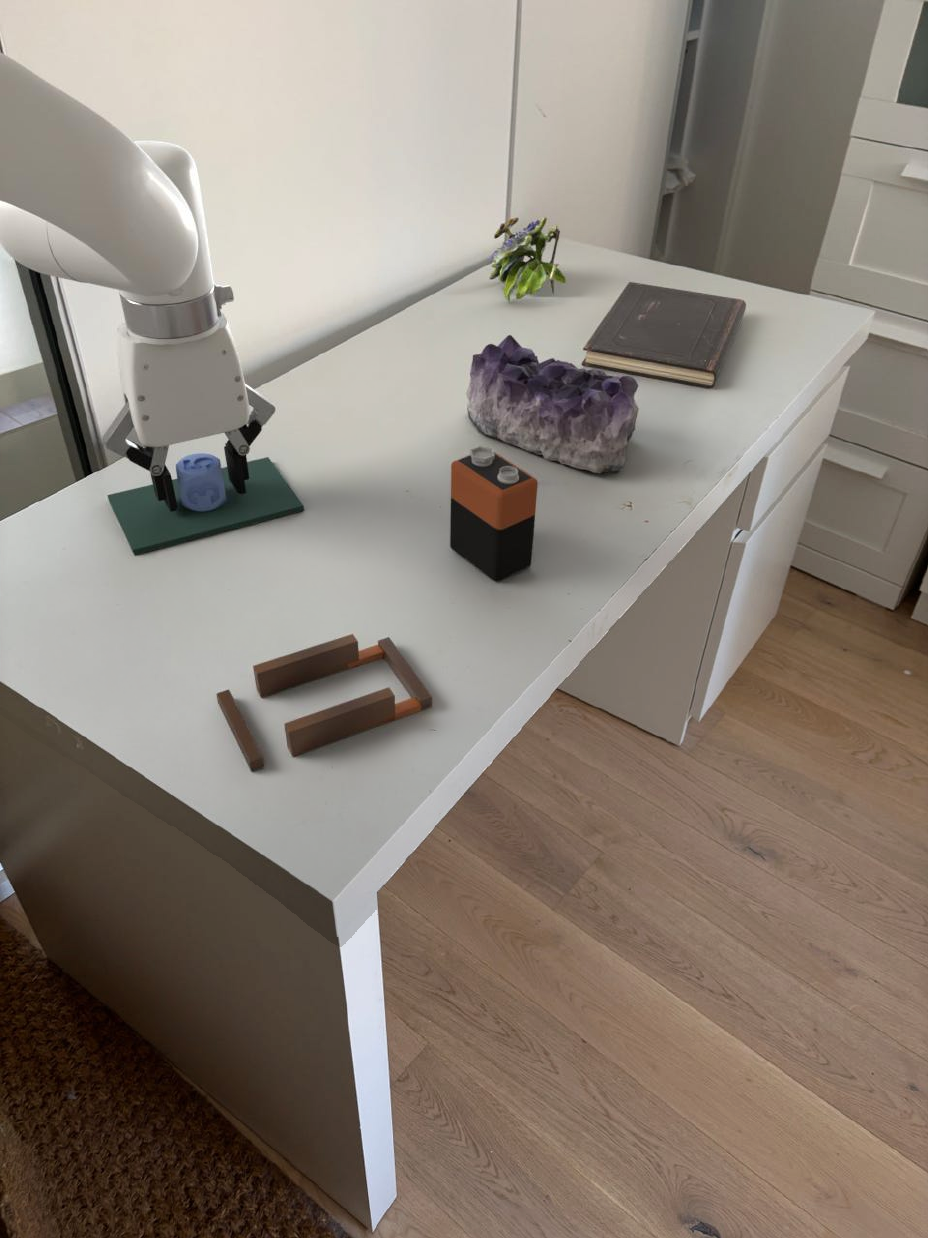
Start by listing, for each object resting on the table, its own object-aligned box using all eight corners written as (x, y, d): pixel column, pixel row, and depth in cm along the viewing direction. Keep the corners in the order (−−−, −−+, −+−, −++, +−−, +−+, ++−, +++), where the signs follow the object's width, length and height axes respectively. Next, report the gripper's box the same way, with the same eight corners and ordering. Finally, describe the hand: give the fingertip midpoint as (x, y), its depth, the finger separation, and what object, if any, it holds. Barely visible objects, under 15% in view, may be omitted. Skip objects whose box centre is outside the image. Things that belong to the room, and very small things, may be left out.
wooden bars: (251, 772, 67) (246, 747, 65) (217, 702, 72) (212, 678, 70) (432, 706, 72) (432, 682, 70) (389, 646, 77) (388, 622, 75)
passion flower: (502, 319, 140) (508, 234, 140) (575, 317, 136) (581, 230, 136) (474, 297, 130) (480, 206, 129) (552, 294, 126) (559, 200, 125)
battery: (484, 532, 89) (488, 436, 83) (533, 567, 85) (541, 469, 79) (447, 548, 87) (448, 451, 81) (495, 585, 83) (501, 486, 77)
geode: (435, 438, 103) (439, 344, 97) (489, 408, 111) (495, 320, 106) (610, 487, 94) (625, 387, 89) (654, 451, 103) (670, 358, 98)
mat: (134, 555, 85) (132, 549, 85) (108, 500, 92) (107, 494, 92) (304, 510, 91) (303, 505, 91) (268, 461, 98) (268, 456, 98)
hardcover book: (581, 365, 117) (583, 347, 115) (627, 297, 133) (629, 281, 132) (713, 389, 113) (717, 371, 111) (743, 316, 129) (747, 300, 128)
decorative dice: (181, 492, 92) (174, 455, 90) (224, 486, 93) (218, 450, 91) (184, 514, 89) (176, 477, 87) (227, 509, 90) (221, 472, 88)
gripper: (256, 277, 85) (277, 456, 97) (53, 311, 79) (102, 498, 90) (286, 308, 80) (304, 492, 92) (72, 346, 74) (121, 539, 85)
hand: (204, 493), depth 91 cm, fingers open, 5 cm apart
